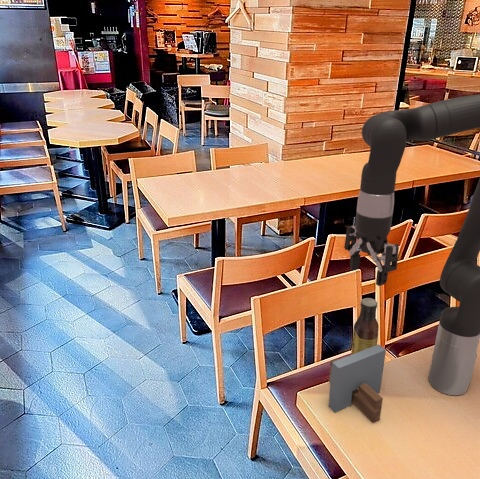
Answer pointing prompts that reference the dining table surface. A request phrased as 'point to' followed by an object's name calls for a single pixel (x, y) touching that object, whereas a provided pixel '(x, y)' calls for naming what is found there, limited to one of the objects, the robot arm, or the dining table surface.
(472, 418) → the dining table surface
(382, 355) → the grey block
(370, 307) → the sauce bottle
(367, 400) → the walnut board
